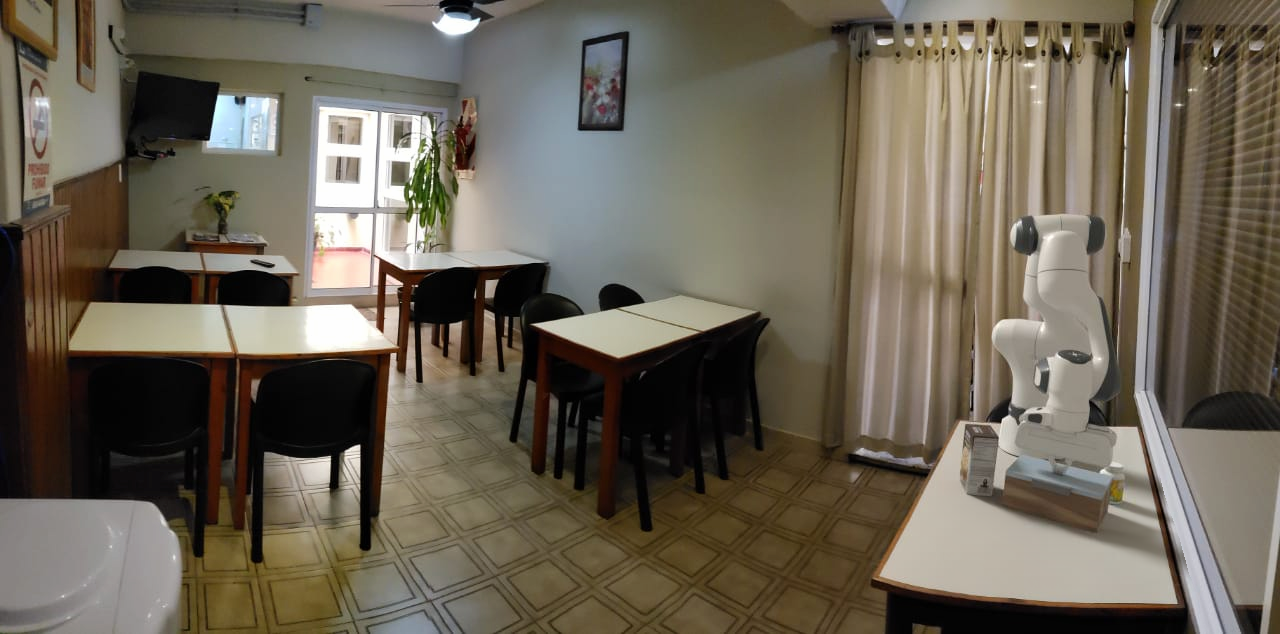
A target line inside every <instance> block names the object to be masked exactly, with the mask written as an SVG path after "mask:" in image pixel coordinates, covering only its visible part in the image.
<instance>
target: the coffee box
mask: <svg viewBox="0 0 1280 634" xmlns="http://www.w3.org/2000/svg"><path fill="white" fill-rule="evenodd" d="M962 442H963V443H962V451H961V459H960V460H961V462H960V469H959V482H960V484H961V486H962V488H963V489H964V491H965V494H966V495H972V496H984V497H985V496H986V497H992V496H993V488H994V482H995V474H996V473H995V472H996V466H997V465H996V464H997V457H998V451H999V450H998V449H999V446H998V442H999V435H998V434H997V432H996V431H995V429H994V428H993V427H992V425H989V424H977V423H976V424H973V423H965V424H964V433H963V441H962Z"/></svg>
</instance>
